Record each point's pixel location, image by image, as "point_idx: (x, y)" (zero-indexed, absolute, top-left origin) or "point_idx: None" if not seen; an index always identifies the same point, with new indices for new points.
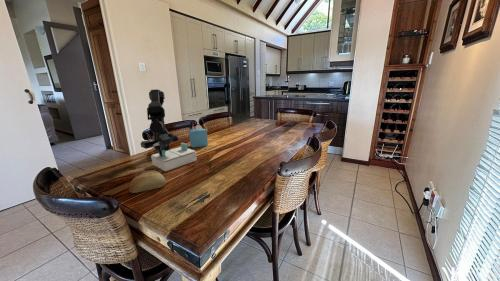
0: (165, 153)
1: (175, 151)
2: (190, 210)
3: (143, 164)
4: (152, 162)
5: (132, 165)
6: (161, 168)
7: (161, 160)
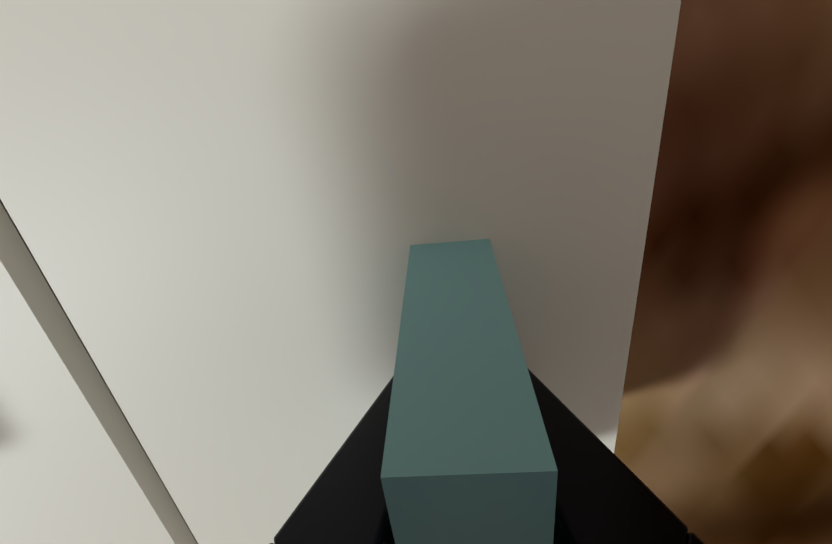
0: None
1: (47, 454)
2: None
3: None
4: None
5: (720, 538)
6: None
7: (655, 75)
